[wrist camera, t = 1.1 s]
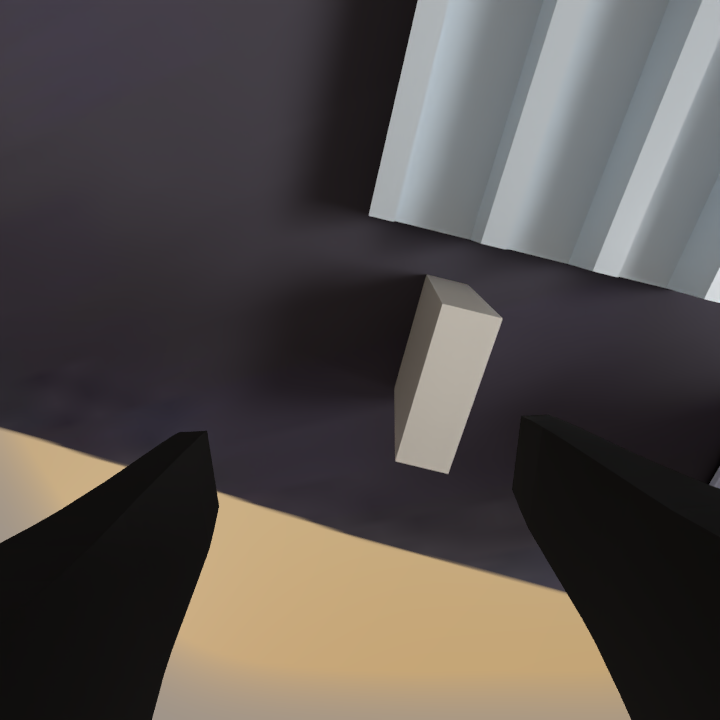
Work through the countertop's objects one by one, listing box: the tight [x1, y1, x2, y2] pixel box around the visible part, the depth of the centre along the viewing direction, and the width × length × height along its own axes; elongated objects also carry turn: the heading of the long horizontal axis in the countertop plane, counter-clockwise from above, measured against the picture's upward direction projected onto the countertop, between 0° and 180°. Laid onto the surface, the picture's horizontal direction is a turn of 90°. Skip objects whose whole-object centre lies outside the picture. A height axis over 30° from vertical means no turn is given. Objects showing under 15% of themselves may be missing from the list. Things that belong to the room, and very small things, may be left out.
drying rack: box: [369, 0, 720, 303], centre depth 17 cm, size 14×11×4 cm
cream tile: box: [394, 274, 503, 474], centre depth 19 cm, size 2×6×7 cm, turn 166°
